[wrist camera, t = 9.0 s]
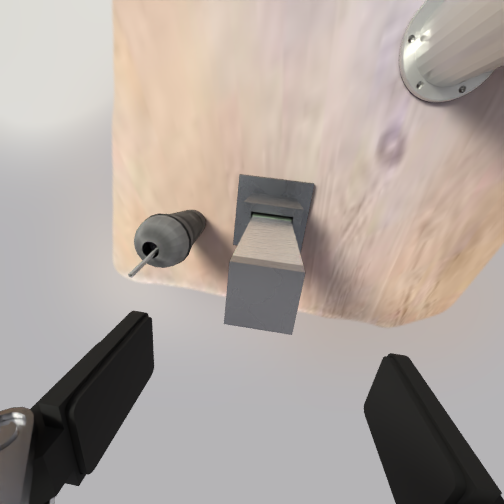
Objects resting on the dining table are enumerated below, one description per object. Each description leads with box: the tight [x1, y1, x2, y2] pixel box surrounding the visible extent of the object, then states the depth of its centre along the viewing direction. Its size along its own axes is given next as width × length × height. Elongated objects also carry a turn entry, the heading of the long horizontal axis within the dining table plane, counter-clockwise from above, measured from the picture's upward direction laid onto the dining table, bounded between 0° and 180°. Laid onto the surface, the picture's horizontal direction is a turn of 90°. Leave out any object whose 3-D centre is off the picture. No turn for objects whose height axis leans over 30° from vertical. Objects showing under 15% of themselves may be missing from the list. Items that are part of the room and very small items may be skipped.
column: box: [224, 212, 305, 335], centre depth 24 cm, size 4×4×20 cm
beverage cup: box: [128, 210, 205, 278], centre depth 33 cm, size 7×7×20 cm
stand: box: [233, 174, 314, 253], centre depth 34 cm, size 12×12×13 cm
